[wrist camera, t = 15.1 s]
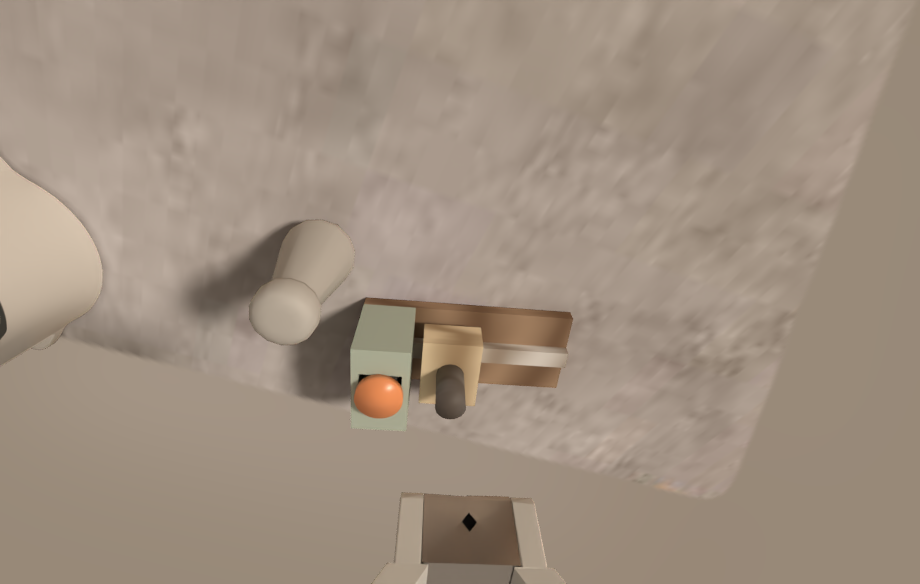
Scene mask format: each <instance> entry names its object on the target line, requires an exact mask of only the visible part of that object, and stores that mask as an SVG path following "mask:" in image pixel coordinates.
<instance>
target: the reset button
mask: <svg viewBox="0 0 920 584" xmlns="http://www.w3.org/2000/svg"><path fill="white" fill-rule="evenodd" d="M354 403H355V406H356V407H357V409H358V410H359V411H360V412H361V413H363V414H364V415H366V416H368V417H372V418H387V417H390V416H393V415H394V414H396V413H397V412H398V411H399V410H400V408H401V406H402V403H403V389H402V387H401V385H400V384H399V377H398V376H387V375H381V374H375V375H365V374H364V378H363V379H362V380H361V381H360V382H359V383H358V385H357V387H356V390H355V394H354Z"/></svg>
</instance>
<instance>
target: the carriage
mask: <svg viewBox="0 0 920 584" xmlns="http://www.w3.org/2000/svg"><path fill="white" fill-rule="evenodd" d="M482 353H483V340H482V332H481V328H479V327H465V326H451V325H436V324H425V325H424V338H423V351H422V364H421V376H420V390H419V403H430V404H435V409H436V412H437V414H438V415H439V416H441V417H443V418H446V419H455V418H458V417H460V416H461V415H463V413H464V412H465V410H466V406H475V400H476V393H477V387H478V380H479V373H480V366H481V360H482Z"/></svg>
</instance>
